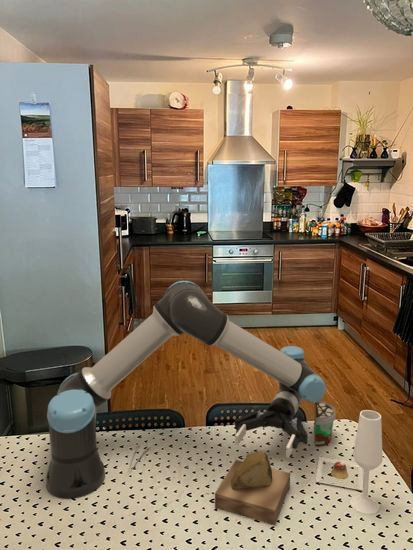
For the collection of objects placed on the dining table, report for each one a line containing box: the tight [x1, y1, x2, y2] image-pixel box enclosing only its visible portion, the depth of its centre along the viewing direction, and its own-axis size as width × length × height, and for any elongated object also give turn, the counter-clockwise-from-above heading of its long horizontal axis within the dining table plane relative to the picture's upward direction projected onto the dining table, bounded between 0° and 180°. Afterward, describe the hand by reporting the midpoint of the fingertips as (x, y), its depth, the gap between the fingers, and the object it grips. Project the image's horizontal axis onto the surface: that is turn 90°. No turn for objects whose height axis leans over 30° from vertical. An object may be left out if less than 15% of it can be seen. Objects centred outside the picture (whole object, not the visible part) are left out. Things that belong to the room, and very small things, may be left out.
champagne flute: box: [349, 409, 384, 515], centre depth 111 cm, size 7×7×24 cm
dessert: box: [315, 456, 364, 491], centre depth 125 cm, size 12×12×5 cm
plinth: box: [214, 459, 291, 526], centre depth 116 cm, size 15×15×4 cm
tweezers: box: [126, 444, 152, 476], centre depth 131 cm, size 17×5×2 cm, turn 169°
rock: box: [231, 450, 273, 489], centre depth 115 cm, size 11×9×10 cm
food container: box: [313, 400, 337, 447], centre depth 141 cm, size 12×6×10 cm, turn 168°
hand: (261, 446), depth 118 cm, fingers open, 13 cm apart
